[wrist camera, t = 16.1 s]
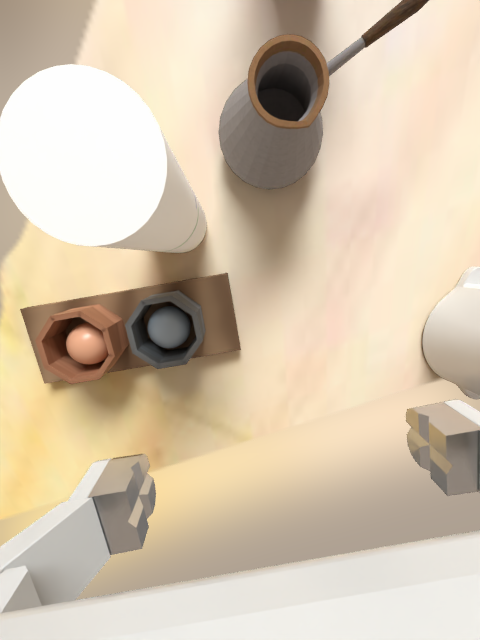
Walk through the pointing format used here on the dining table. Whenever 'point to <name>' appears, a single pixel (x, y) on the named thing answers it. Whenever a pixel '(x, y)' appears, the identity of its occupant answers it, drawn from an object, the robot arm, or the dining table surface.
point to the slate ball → (169, 327)
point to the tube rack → (133, 328)
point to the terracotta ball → (87, 344)
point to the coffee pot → (287, 105)
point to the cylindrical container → (95, 164)
